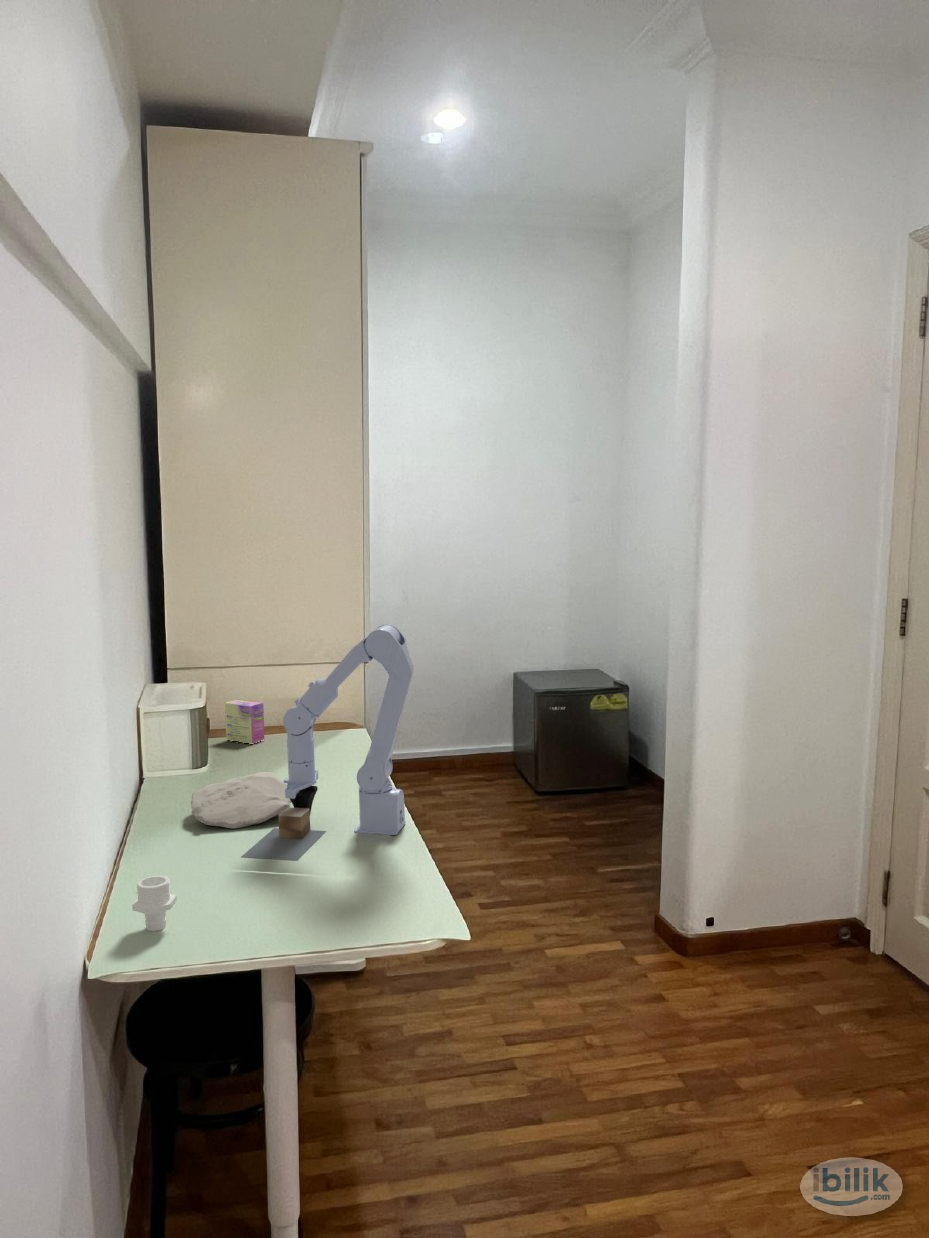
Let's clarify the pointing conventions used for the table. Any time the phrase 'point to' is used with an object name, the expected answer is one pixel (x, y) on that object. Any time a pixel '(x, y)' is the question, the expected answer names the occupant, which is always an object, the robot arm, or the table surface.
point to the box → (244, 721)
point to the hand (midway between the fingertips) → (303, 820)
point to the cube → (294, 823)
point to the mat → (282, 846)
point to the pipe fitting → (154, 901)
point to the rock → (240, 801)
